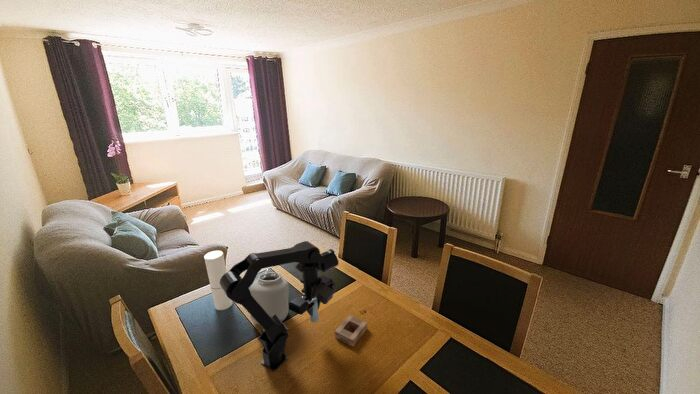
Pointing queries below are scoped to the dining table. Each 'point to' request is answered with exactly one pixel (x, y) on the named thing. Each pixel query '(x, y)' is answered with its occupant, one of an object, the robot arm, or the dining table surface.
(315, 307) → the dowel
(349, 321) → the socket block
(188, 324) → the dining table surface
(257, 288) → the jar
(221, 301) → the cylindrical container
